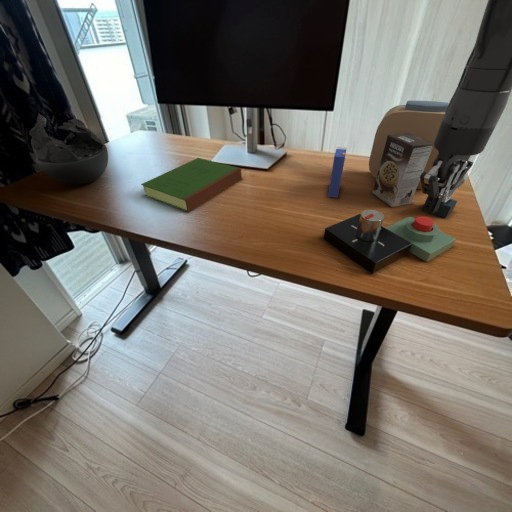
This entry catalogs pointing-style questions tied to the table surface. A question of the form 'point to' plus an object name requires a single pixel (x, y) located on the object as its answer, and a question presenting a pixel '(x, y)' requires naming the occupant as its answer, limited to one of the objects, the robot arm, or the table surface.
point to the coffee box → (401, 168)
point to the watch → (449, 200)
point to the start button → (423, 224)
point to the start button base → (422, 239)
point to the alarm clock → (409, 128)
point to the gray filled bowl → (70, 153)
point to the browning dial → (369, 225)
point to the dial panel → (367, 245)
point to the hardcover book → (192, 183)
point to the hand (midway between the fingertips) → (429, 211)
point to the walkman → (337, 171)
